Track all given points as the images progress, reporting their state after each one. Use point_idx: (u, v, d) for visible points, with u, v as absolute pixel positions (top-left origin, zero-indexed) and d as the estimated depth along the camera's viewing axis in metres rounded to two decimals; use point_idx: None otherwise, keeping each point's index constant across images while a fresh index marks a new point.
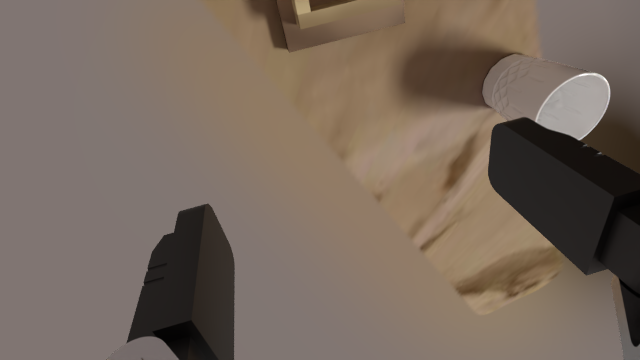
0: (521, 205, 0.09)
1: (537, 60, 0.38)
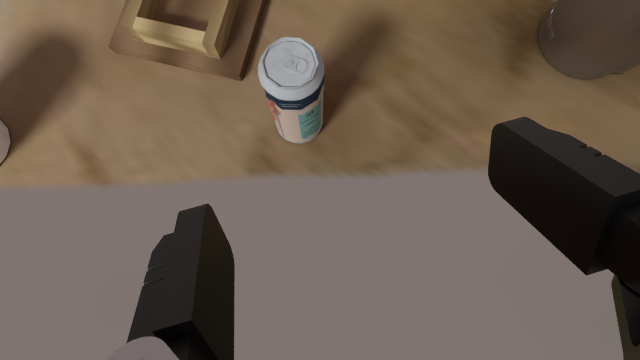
0: (521, 205, 0.09)
1: None
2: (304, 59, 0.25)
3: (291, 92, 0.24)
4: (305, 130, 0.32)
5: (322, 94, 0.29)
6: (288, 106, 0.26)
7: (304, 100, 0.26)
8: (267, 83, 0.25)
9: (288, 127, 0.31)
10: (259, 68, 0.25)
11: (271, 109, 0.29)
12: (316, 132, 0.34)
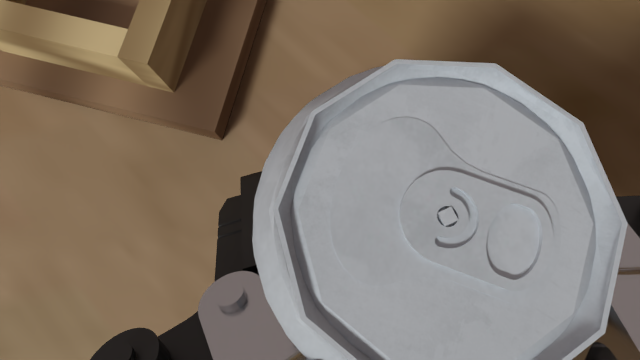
0: None
1: None
2: (531, 194, 0.04)
3: None
4: None
5: None
6: None
7: None
8: (307, 334, 0.04)
9: None
10: (261, 226, 0.05)
11: None
12: None
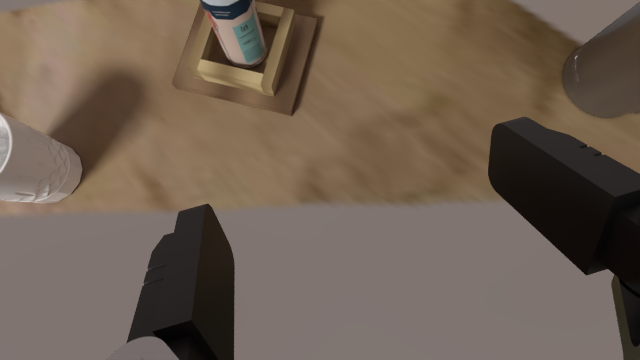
0: (521, 205, 0.09)
1: (55, 177, 0.35)
2: None
3: None
4: (245, 50, 0.36)
5: (255, 11, 0.33)
6: (220, 15, 0.31)
7: (232, 7, 0.30)
8: None
9: (229, 45, 0.35)
10: None
11: None
12: (259, 57, 0.39)
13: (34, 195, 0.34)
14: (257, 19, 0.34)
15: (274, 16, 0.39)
